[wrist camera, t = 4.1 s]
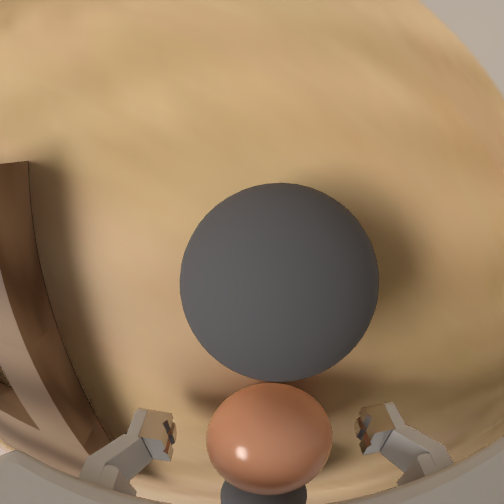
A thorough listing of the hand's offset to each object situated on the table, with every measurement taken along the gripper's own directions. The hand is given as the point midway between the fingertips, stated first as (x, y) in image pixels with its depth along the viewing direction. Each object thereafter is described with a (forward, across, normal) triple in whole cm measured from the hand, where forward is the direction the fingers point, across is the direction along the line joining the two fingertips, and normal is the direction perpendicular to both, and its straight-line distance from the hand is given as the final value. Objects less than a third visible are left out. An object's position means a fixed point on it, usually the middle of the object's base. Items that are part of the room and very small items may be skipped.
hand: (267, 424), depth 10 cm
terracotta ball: (-1, 0, 0) cm, 1 cm away
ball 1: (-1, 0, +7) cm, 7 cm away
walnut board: (+2, -17, 0) cm, 17 cm away
